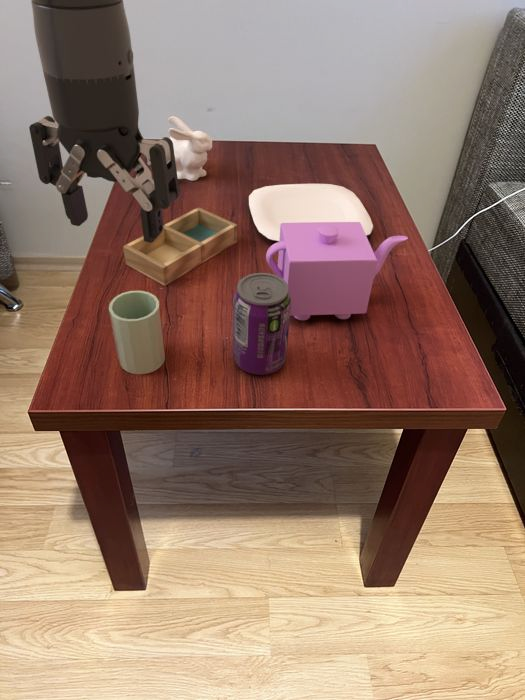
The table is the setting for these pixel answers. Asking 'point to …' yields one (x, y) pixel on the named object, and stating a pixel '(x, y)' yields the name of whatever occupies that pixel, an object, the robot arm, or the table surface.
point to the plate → (305, 207)
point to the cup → (138, 331)
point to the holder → (181, 246)
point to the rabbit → (189, 150)
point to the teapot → (328, 267)
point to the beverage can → (261, 323)
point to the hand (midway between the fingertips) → (115, 230)
